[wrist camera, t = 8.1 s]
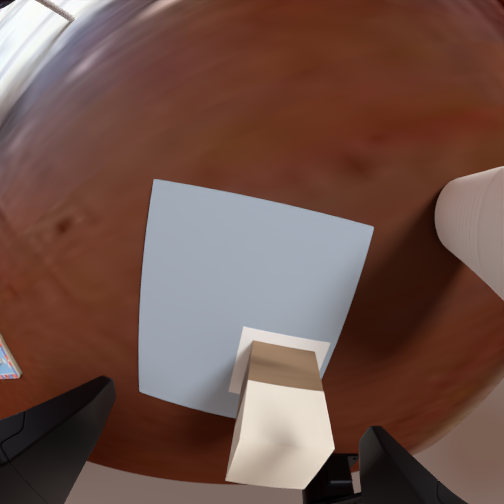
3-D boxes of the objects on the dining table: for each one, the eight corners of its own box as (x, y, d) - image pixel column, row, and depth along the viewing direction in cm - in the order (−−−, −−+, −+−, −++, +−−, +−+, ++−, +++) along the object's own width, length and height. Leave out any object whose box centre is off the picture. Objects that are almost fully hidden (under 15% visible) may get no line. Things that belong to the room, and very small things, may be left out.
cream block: (300, 436, 18) (304, 489, 13) (234, 427, 18) (225, 480, 13) (323, 391, 16) (334, 448, 12) (248, 379, 16) (239, 438, 12)
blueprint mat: (297, 423, 24) (298, 428, 23) (141, 388, 24) (139, 391, 24) (371, 226, 19) (374, 227, 19) (157, 179, 20) (153, 179, 19)
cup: (446, 295, 20) (523, 359, 9) (389, 206, 19) (488, 231, 8) (507, 223, 18) (590, 250, 7) (461, 133, 17) (557, 117, 6)
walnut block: (297, 395, 22) (300, 436, 18) (241, 386, 23) (234, 427, 18) (314, 351, 21) (323, 391, 16) (253, 340, 21) (247, 379, 16)
